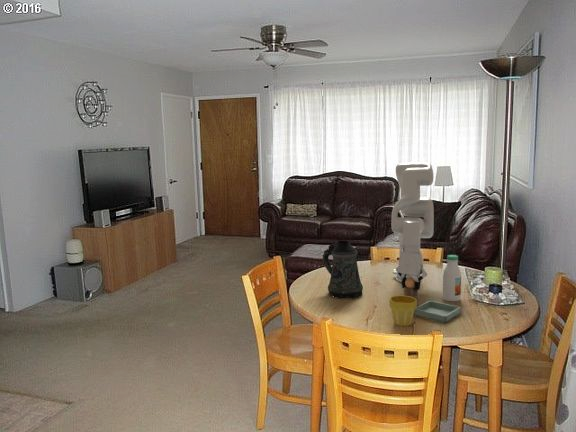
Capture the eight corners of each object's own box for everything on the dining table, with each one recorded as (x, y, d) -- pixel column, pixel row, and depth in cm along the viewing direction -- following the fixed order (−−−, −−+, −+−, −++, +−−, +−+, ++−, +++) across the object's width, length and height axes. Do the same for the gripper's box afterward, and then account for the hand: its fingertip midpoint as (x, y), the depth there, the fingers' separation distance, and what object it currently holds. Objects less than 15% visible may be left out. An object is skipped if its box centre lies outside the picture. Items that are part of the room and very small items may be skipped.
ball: (402, 288, 212) (402, 277, 211) (408, 286, 216) (408, 275, 215) (413, 291, 209) (413, 279, 208) (418, 288, 212) (418, 277, 212)
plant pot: (412, 317, 194) (412, 294, 193) (419, 327, 184) (420, 302, 183) (386, 318, 194) (386, 295, 193) (393, 328, 184) (393, 303, 182)
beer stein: (362, 299, 218) (361, 246, 214) (319, 298, 222) (318, 245, 218) (363, 289, 234) (363, 238, 230) (324, 287, 238) (323, 238, 234)
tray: (413, 315, 197) (413, 308, 197) (429, 306, 207) (429, 300, 207) (445, 323, 187) (445, 316, 187) (460, 313, 197) (461, 307, 197)
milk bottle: (449, 302, 211) (450, 258, 208) (439, 297, 218) (440, 254, 215) (464, 300, 213) (465, 256, 210) (453, 295, 220) (455, 253, 217)
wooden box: (404, 302, 213) (404, 287, 212) (408, 300, 216) (408, 284, 215) (412, 304, 210) (412, 288, 209) (417, 301, 213) (417, 286, 212)
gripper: (389, 247, 213) (389, 287, 215) (425, 252, 201) (424, 294, 204) (398, 244, 218) (398, 283, 221) (433, 249, 206) (432, 290, 209)
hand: (410, 288), depth 212 cm, fingers open, 5 cm apart
